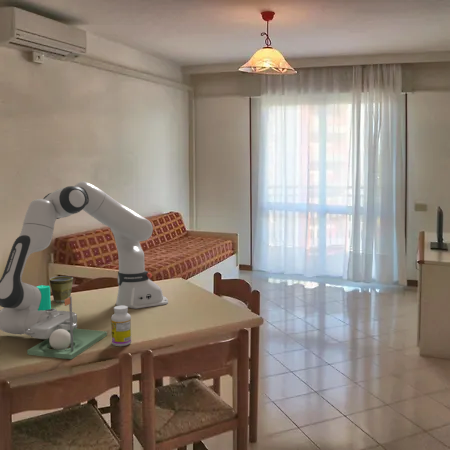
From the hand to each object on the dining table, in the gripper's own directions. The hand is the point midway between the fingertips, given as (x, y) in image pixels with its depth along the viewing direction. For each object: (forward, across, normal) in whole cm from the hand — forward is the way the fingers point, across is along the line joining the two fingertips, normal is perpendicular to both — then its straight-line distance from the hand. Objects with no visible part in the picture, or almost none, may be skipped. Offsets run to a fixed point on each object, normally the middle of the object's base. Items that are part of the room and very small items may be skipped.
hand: (75, 326), depth 188 cm
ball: (-1, -8, +2) cm, 8 cm away
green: (-1, -3, +6) cm, 6 cm away
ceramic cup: (-36, +49, +6) cm, 61 cm away
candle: (-32, +30, +6) cm, 45 cm away
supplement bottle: (+16, +3, +6) cm, 17 cm away
